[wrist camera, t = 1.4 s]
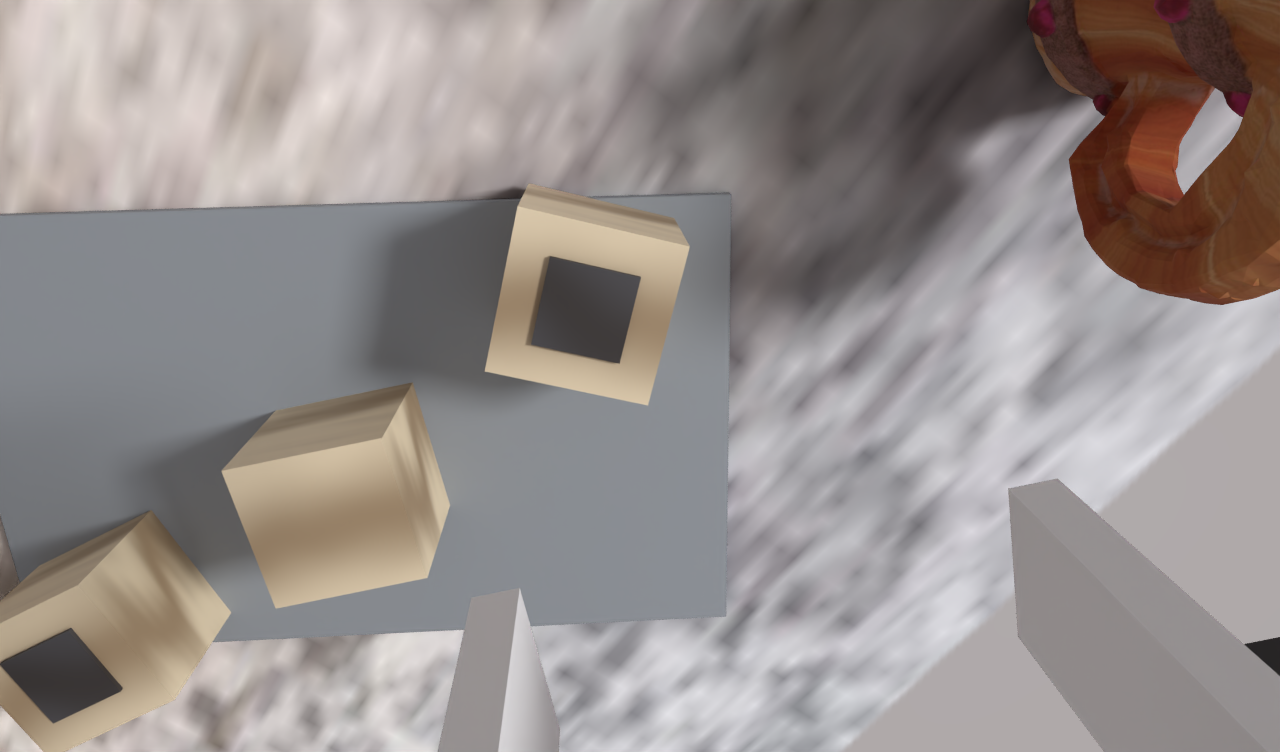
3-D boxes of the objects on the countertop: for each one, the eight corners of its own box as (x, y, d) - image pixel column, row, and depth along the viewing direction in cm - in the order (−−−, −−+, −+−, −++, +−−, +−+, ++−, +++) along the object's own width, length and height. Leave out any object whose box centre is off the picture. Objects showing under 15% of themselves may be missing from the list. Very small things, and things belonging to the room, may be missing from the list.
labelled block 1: (38, 565, 40) (-56, 651, 34) (151, 509, 39) (75, 587, 34) (122, 664, 42) (47, 762, 36) (231, 612, 41) (172, 703, 35)
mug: (1051, -176, 33) (1400, -356, 19) (1248, -119, 34) (1720, -249, 20) (924, 213, 38) (1128, 305, 23) (1101, 253, 39) (1399, 365, 24)
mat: (-76, 216, 35) (-86, 218, 35) (729, 192, 37) (731, 194, 36) (47, 642, 42) (39, 650, 41) (724, 609, 43) (725, 616, 43)
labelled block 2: (528, 183, 36) (517, 206, 30) (674, 218, 36) (690, 247, 31) (500, 324, 37) (483, 373, 32) (639, 354, 38) (648, 407, 32)
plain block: (275, 410, 38) (221, 470, 33) (412, 382, 38) (382, 437, 32) (319, 531, 40) (275, 608, 35) (450, 505, 40) (427, 577, 34)
